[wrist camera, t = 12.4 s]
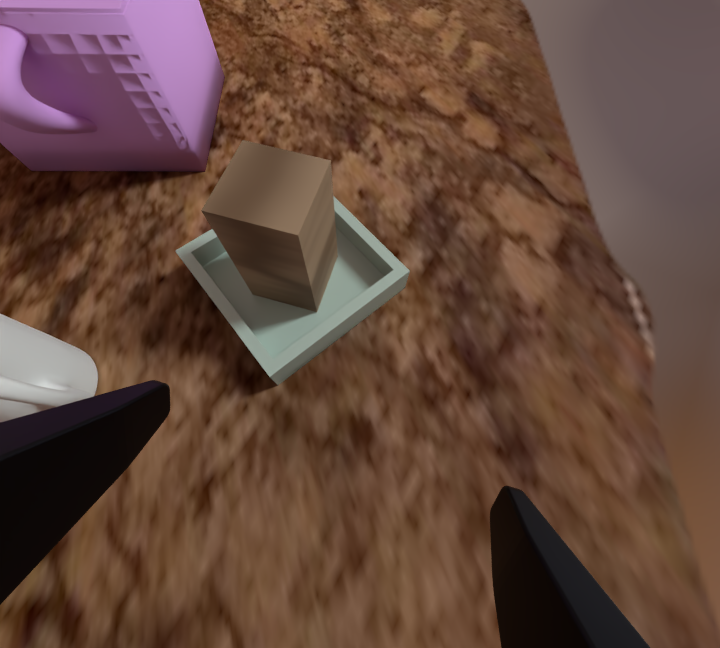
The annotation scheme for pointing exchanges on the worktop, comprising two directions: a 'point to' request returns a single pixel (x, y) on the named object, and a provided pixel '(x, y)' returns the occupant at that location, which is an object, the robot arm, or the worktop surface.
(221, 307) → the tray
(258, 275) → the walnut block
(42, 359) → the mug
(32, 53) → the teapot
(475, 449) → the worktop surface
